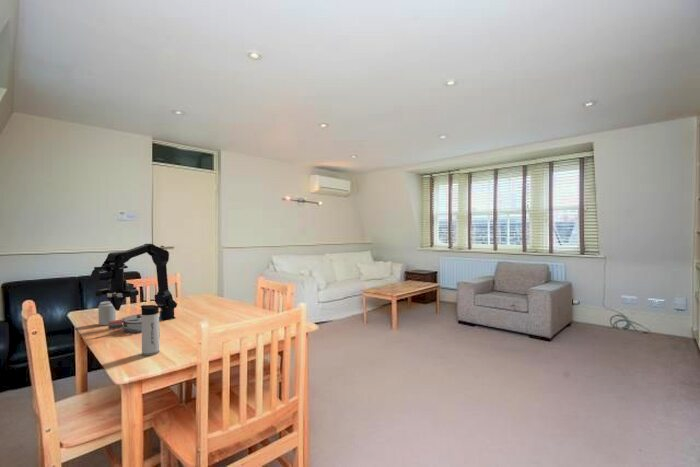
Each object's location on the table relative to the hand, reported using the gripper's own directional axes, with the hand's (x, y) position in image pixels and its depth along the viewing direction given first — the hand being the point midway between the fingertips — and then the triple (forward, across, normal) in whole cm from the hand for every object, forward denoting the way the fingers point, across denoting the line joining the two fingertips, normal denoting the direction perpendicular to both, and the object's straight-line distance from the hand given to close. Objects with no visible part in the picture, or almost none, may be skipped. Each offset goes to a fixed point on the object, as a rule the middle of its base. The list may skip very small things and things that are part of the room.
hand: (117, 310), depth 166 cm
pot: (+12, -4, -7) cm, 14 cm away
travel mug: (+12, -33, +20) cm, 41 cm away
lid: (+7, -3, -6) cm, 10 cm away
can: (+12, +20, -14) cm, 27 cm away
